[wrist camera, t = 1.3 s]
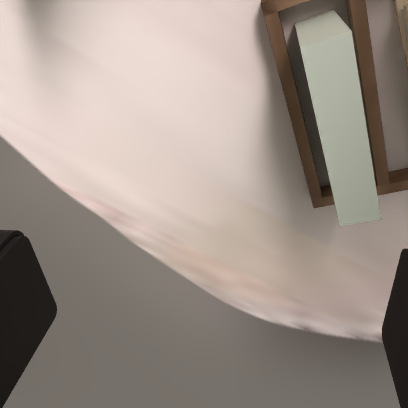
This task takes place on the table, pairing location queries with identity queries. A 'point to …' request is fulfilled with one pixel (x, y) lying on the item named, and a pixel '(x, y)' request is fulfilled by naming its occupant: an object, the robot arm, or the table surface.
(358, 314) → the table surface
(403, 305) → the robot arm
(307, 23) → the pale green rectangular block
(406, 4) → the offcut stack
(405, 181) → the rack
